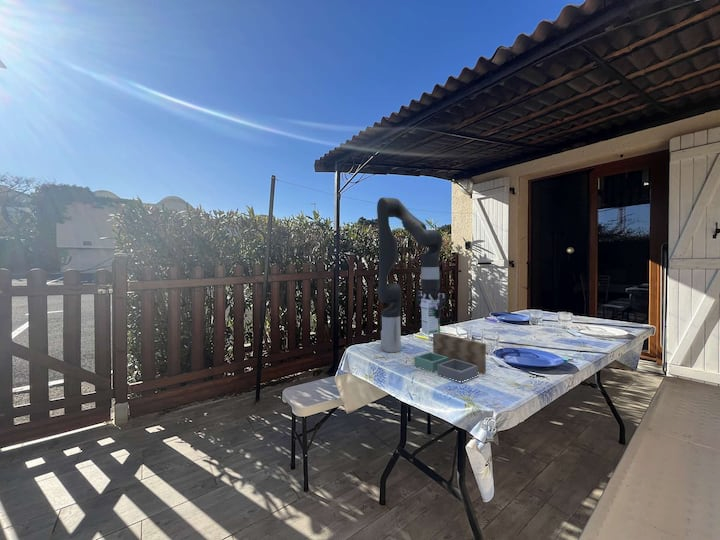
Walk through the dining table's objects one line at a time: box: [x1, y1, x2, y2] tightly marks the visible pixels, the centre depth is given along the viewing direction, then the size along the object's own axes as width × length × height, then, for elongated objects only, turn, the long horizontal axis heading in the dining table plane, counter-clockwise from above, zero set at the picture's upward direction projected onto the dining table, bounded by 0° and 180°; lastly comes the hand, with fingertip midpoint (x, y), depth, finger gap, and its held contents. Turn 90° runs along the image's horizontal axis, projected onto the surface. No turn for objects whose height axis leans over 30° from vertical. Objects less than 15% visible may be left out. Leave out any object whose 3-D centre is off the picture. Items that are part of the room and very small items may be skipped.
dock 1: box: [413, 351, 448, 373], centre depth 132 cm, size 10×10×4 cm
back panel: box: [432, 332, 487, 375], centre depth 133 cm, size 25×2×12 cm, turn 37°
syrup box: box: [420, 298, 441, 336], centre depth 132 cm, size 6×6×14 cm
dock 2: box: [436, 359, 479, 382], centre depth 122 cm, size 11×11×4 cm
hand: (430, 316), depth 132 cm, fingers closed on syrup box, 7 cm apart
